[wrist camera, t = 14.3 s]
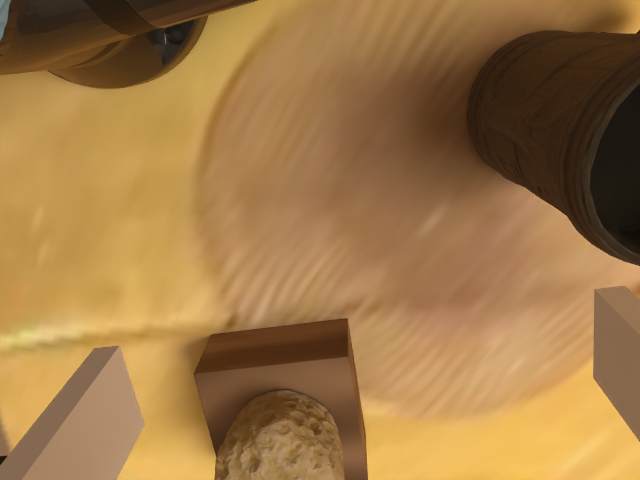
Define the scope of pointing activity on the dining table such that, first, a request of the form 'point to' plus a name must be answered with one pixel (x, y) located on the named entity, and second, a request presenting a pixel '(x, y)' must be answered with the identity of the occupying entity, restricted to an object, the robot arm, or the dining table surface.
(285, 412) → the brown cratered rock
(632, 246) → the beer stein
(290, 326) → the walnut block
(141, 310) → the dining table surface
